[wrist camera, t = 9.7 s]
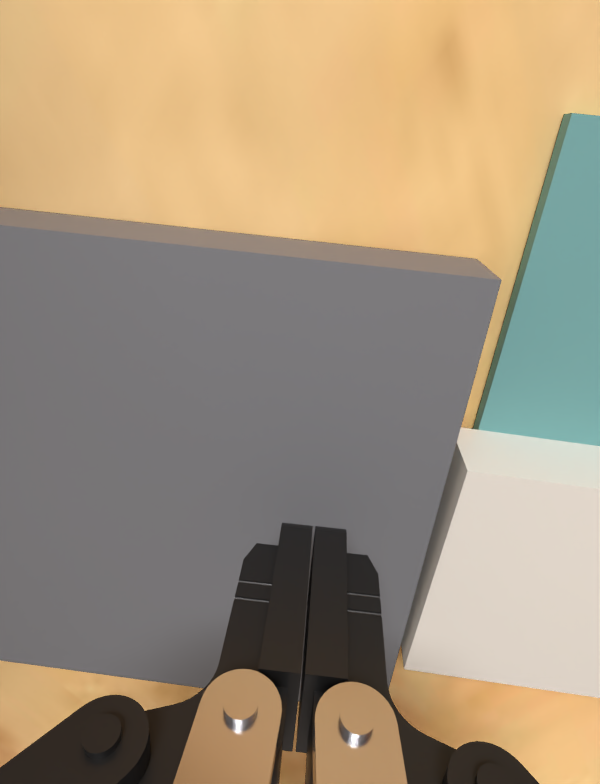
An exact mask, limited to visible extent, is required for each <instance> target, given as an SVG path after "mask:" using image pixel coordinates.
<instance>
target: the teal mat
mask: <svg viewBox="0 0 600 784" xmlns="http://www.w3.org/2000/svg"><path fill="white" fill-rule="evenodd" d="M473 429H476V430H484V431H491V432H499V433H506V434H513V435H521V436H528V437H536V438H543V439H550V440H558V441H565V442H572V443H580V444H587V445H595V446H600V116H595V115H585V114H575V113H570V114H564V116H563V119H562V123H561V126H560V129H559V133H558V136H557V140H556V143H555V147H554V150H553V154H552V157H551V161H550V164H549V167H548V171H547V174H546V178H545V181H544V185H543V188H542V192H541V195H540V199H539V202H538V205H537V209H536V212H535V216H534V219H533V223H532V226H531V230H530V233H529V237H528V240H527V243H526V247H525V250H524V254H523V257H522V261H521V264H520V268H519V271H518V275H517V278H516V281H515V285H514V288H513V292H512V295H511V299H510V302H509V306H508V309H507V313H506V316H505V319H504V323H503V326H502V330H501V333H500V337H499V340H498V344H497V347H496V350H495V354H494V357H493V361H492V364H491V368H490V371H489V375H488V378H487V382H486V385H485V388H484V392H483V395H482V399H481V402H480V406H479V409H478V413H477V416H476V420H475V423H474V426H473Z"/></svg>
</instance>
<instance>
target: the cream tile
mask: <svg viewBox="0 0 600 784" xmlns="http://www.w3.org/2000/svg"><path fill="white" fill-rule="evenodd" d="M401 647H402V656H403V665H404V669H406V670H413V671H420V672H427V673H434V674H441V675H447V676H454V677H461V678H468V679H475V680H482V681H488V682H495V683H502V684H509V685H516V686H523V687H529V688H536V689H543V690H550V691H557V692H563V693H570V694H577V695H584V696H591V697H598V698H600V446H595V445H587V444H580V443H572V442H565V441H558V440H550V439H543V438H536V437H528V436H521V435H513V434H506V433H499V432H491V431H484V430H476V429H469V428H462V427H461V428H460V432H459V436H458V439H457V443H456V447H455V450H454V454H453V457H452V461H451V465H450V468H449V472H448V475H447V479H446V483H445V486H444V490H443V494H442V497H441V501H440V504H439V508H438V512H437V515H436V519H435V522H434V526H433V530H432V533H431V537H430V541H429V544H428V548H427V551H426V555H425V559H424V562H423V566H422V570H421V573H420V577H419V580H418V584H417V588H416V591H415V595H414V598H413V602H412V606H411V609H410V613H409V617H408V620H407V624H406V627H405V631H404V635H403V638H402V642H401Z"/></svg>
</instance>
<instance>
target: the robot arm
mask: <svg viewBox="0 0 600 784" xmlns="http://www.w3.org/2000/svg"><path fill="white" fill-rule="evenodd" d="M312 529H313V526H310V525H301V524H292V523H282V525H281V531H280V538H279V544H278V545H269V544H260V543H256V545H255V546H254V547H253V548H252V550H251V551H250V552H249V553H248V554H247V556H246V557H245V558H244V559H243V564H242V568H241V572H240V576H239V582H238V585H237V589H236V593H235V599H234V602H233V606H232V610H231V614H230V618H229V623H228V627H227V631H226V635H225V639H224V644H223V648H222V652H221V656H220V660H219V664H218V667H217V670H216V672H215V674H214V676H213V678H212V679H211V681H210V682H209V683H208V684H207V686H206V687H205V688H204V689H203V690H201V691H200V692H199V693H198V694H196V695H195V696H193V697H192V698H190V699H188V700H186V701H184V702H181V703H177V704H174V705H170V706H165V707H161V708H156V709H152V710H147V711H144V709H143V708H142V706H141V705H140V704H139V703H138V702H136V701H135V700H133V699H132V698H129V697H126V696H122V695H109V696H103V697H100V698H97V699H95V700H93V701H91V702H89V703H87V704H86V705H84V706H83V707H81V708H80V709H78V710H77V711H76V712H74V713H73V714H72V715H70V716H69V717H68V718H66V719H65V720H64V721H62V722H61V723H60V724H58V725H57V726H56V727H54V728H53V729H51V730H50V731H49V732H47V733H46V734H45V735H43V736H42V737H41V738H39V739H38V740H37V741H35V742H34V743H33V744H31V745H30V746H29V747H27V748H26V749H25V750H23V751H22V752H21V753H19V754H18V755H17V756H15V757H14V758H13V759H11V760H10V761H9V762H7V763H6V764H5V765H3V766H2V767H0V784H279V777H280V767H281V757H282V750H285V751H292V749H293V740H294V731H295V723H296V714H297V706H298V697H299V688H300V680H301V690H300V703H299V716H298V729H297V742H296V752H303V753H307V758H306V775H305V784H539V783H538V782H537V781H536V780H535V778H534V777H533V776H532V775H531V774H530V773H529V772H528V771H527V770H526V769H525V768H524V766H523V765H522V764H521V763H520V762H519V761H518V760H517V759H516V758H515V757H513V756H512V755H511V754H510V753H508V752H507V751H505V750H504V749H502V748H500V747H498V746H496V745H493V744H490V743H486V742H478V741H476V742H469V743H466V744H464V745H462V746H461V747H459V748H458V749H457V750H456V749H454V748H452V747H450V746H447V745H445V744H443V743H441V742H439V741H437V740H435V739H433V738H431V737H429V736H427V735H425V734H423V733H421V732H420V731H418V730H417V729H415V728H414V727H413V726H411V725H410V724H409V723H408V722H407V721H406V720H405V719H404V718H403V717H402V716H401V714H400V713H399V712H398V710H397V709H396V707H395V705H394V703H393V701H392V699H391V697H390V694H389V690H388V684H387V673H386V661H385V649H384V637H383V625H382V617H381V601H380V589H379V576H378V573H377V571H376V569H375V567H374V566H373V564H372V562H371V560H370V559H369V557H368V555H361V554H352V553H347V532H346V529H339V528H330V527H320V526H315V533H314V541H313V550H312V559H311V568H310V577H309V567H310V555H311V542H312ZM308 580H309V588H308ZM307 593H308V599H307ZM306 606H307V612H306ZM305 619H306V625H305ZM304 631H305V638H304ZM303 644H304V651H303ZM302 657H303V664H302ZM301 670H302V677H301Z"/></svg>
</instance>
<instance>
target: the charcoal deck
mask: <svg viewBox="0 0 600 784" xmlns="http://www.w3.org/2000/svg"><path fill="white" fill-rule="evenodd" d="M500 284H501V279H500V278H499V277H497V276H496V275H495V274H494V273H493V272H492V271H490V270H489V269H488V268H487V267H486V266H484V265H483V264H482V263H481V262H480V261H479V260H477V259H472V258H463V257H454V256H445V255H435V254H426V253H417V252H408V251H399V250H389V249H380V248H371V247H362V246H353V245H343V244H334V243H325V242H316V241H306V240H297V239H288V238H279V237H270V236H260V235H251V234H242V233H233V232H223V231H214V230H205V229H196V228H187V227H177V226H168V225H159V224H150V223H141V222H131V221H122V220H113V219H104V218H94V217H85V216H76V215H67V214H58V213H48V212H39V211H30V210H21V209H12V208H2V207H0V660H2V661H9V662H16V663H24V664H31V665H38V666H45V667H53V668H60V669H67V670H75V671H82V672H89V673H97V674H104V675H111V676H119V677H126V678H133V679H140V680H148V681H155V682H162V683H170V684H177V685H184V686H192V687H199V688H205V687H206V686H207V684H208V683H209V682H210V681H211V679H212V678H213V676H214V674H215V672H216V670H217V667H218V664H219V660H220V656H221V652H222V648H223V644H224V639H225V635H226V631H227V627H228V623H229V618H230V614H231V610H232V606H233V602H234V599H235V593H236V589H237V585H238V582H239V576H240V572H241V568H242V564H243V559H244V558H245V557H246V556H247V554H248V553H249V552H250V551H251V550H252V548H253V547H254V546H255V545H256V543H260V544H269V545H278V544H279V538H280V531H281V525H282V523H292V524H301V525H310V526H313V529H312V542H311V555H310V567H309V577H310V568H311V559H312V550H313V541H314V533H315V526H320V527H330V528H339V529H346V532H347V553H352V554H361V555H368V557H369V559H370V560H371V562H372V564H373V566H374V567H375V569H376V571H377V573H378V576H379V589H380V601H381V617H382V625H383V637H384V649H385V661H386V673H387V684H388V689H389V685H390V682H391V678H392V674H393V671H394V667H395V664H396V660H397V656H398V653H399V649H400V646H401V642H402V638H403V635H404V631H405V627H406V624H407V620H408V617H409V613H410V609H411V606H412V602H413V598H414V595H415V591H416V588H417V584H418V580H419V577H420V573H421V570H422V566H423V562H424V559H425V555H426V551H427V548H428V544H429V541H430V537H431V533H432V530H433V526H434V522H435V519H436V515H437V512H438V508H439V504H440V501H441V497H442V494H443V490H444V486H445V483H446V479H447V475H448V472H449V468H450V465H451V461H452V457H453V454H454V450H455V447H456V443H457V439H458V436H459V432H460V428H461V425H462V421H463V418H464V414H465V410H466V407H467V403H468V399H469V396H470V392H471V389H472V385H473V381H474V378H475V374H476V371H477V367H478V363H479V360H480V356H481V352H482V349H483V345H484V342H485V338H486V334H487V331H488V327H489V323H490V320H491V316H492V313H493V309H494V305H495V302H496V298H497V295H498V291H499V287H500ZM308 588H309V580H308ZM307 599H308V593H307ZM306 612H307V606H306ZM305 625H306V619H305ZM304 638H305V631H304ZM303 651H304V644H303ZM302 664H303V657H302ZM301 677H302V670H301ZM300 690H301V680H300V688H299V697H298V701H300Z"/></svg>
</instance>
